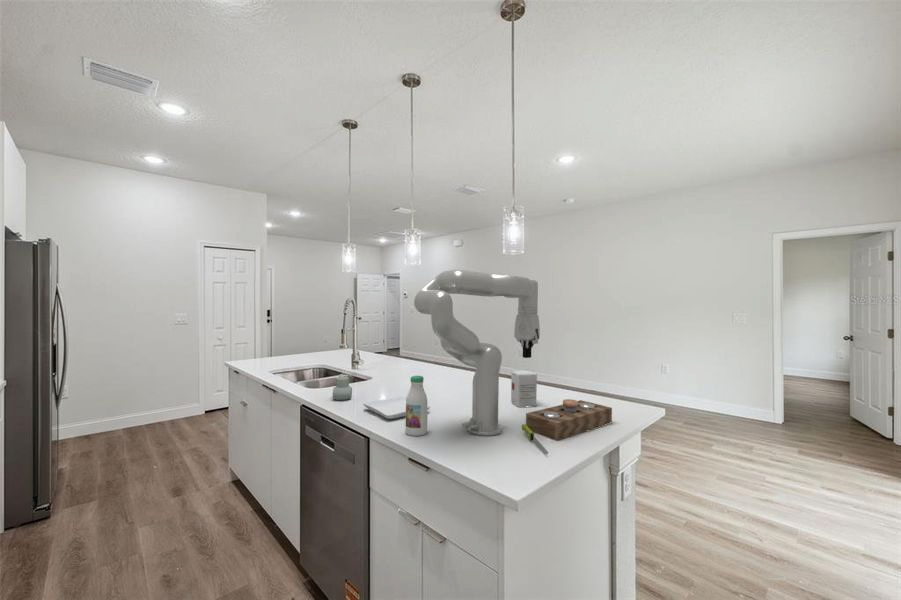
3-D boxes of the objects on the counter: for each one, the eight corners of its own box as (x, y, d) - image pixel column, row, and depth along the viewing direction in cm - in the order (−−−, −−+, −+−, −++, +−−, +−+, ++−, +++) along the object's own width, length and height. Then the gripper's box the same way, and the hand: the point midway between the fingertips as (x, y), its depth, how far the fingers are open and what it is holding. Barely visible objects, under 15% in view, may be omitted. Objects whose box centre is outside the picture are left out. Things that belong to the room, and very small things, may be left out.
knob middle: (572, 420, 142) (572, 403, 142) (559, 416, 147) (559, 400, 147) (581, 417, 146) (581, 401, 146) (568, 413, 150) (568, 398, 150)
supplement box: (510, 402, 179) (510, 370, 179) (528, 401, 181) (528, 370, 181) (518, 408, 170) (518, 374, 170) (536, 407, 172) (537, 373, 172)
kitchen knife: (550, 461, 116) (550, 451, 116) (546, 461, 116) (546, 452, 115) (524, 431, 138) (525, 423, 138) (521, 431, 138) (521, 423, 137)
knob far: (589, 422, 149) (589, 407, 149) (576, 419, 153) (576, 404, 153) (597, 420, 152) (597, 405, 152) (585, 416, 157) (585, 402, 157)
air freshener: (350, 401, 178) (350, 380, 178) (332, 402, 176) (332, 380, 176) (352, 395, 188) (352, 375, 188) (334, 396, 187) (335, 375, 187)
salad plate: (431, 413, 161) (431, 405, 161) (387, 423, 147) (388, 414, 147) (403, 403, 177) (404, 395, 177) (362, 411, 164) (362, 403, 164)
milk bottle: (417, 427, 142) (418, 373, 142) (431, 433, 136) (432, 376, 137) (401, 432, 137) (401, 376, 137) (414, 438, 131) (415, 379, 131)
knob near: (553, 434, 136) (553, 417, 136) (540, 429, 140) (540, 413, 140) (562, 431, 139) (563, 414, 139) (550, 426, 143) (550, 410, 143)
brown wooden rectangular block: (557, 440, 130) (557, 423, 130) (525, 429, 142) (526, 413, 142) (611, 422, 151) (611, 407, 151) (580, 414, 162) (580, 400, 162)
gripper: (508, 310, 156) (507, 355, 156) (534, 311, 144) (533, 360, 143) (521, 310, 160) (520, 354, 160) (548, 311, 148) (547, 359, 147)
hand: (526, 357), depth 152 cm, fingers closed
